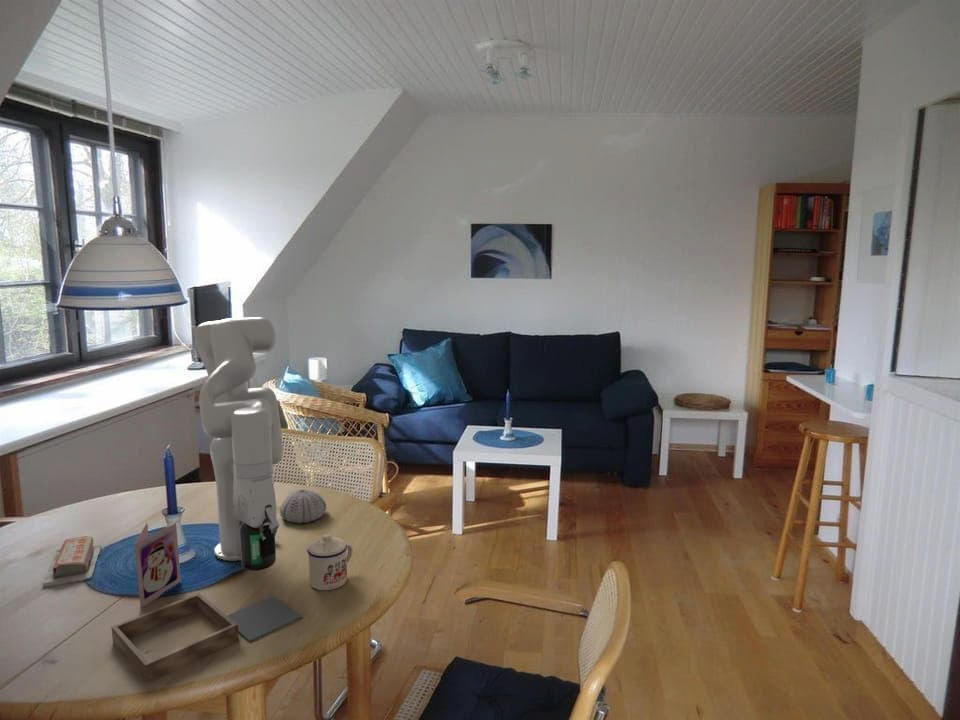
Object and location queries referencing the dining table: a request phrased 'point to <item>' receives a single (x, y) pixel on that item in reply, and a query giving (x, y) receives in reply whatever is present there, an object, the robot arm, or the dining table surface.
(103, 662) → the dining table surface
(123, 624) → the walnut box
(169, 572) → the greeting card
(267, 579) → the dining table surface
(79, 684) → the dining table surface
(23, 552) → the dining table surface
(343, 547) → the teacup with lid
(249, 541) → the supplement bottle
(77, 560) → the packaged product
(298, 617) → the charcoal mat
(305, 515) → the sea urchin shell
